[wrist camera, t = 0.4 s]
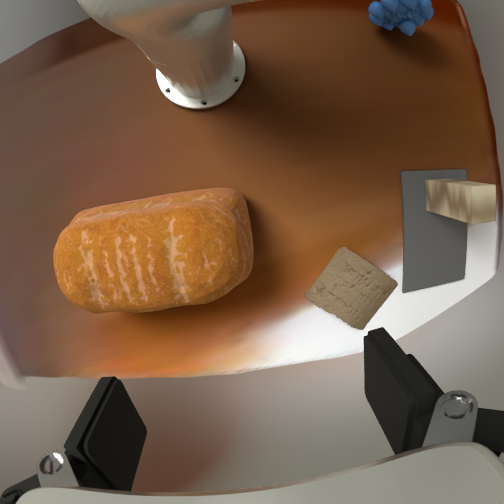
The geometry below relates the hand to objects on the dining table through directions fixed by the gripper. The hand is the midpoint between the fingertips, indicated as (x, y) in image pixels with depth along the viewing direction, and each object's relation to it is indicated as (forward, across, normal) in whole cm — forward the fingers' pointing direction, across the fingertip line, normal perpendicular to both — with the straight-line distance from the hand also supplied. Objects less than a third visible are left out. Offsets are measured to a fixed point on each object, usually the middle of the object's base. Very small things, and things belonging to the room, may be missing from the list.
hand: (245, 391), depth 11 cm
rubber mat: (+36, -32, +7) cm, 48 cm away
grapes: (+36, -29, -27) cm, 54 cm away
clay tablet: (+37, -16, +14) cm, 42 cm away
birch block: (+35, -32, +1) cm, 48 cm away
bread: (+36, +12, 0) cm, 38 cm away
